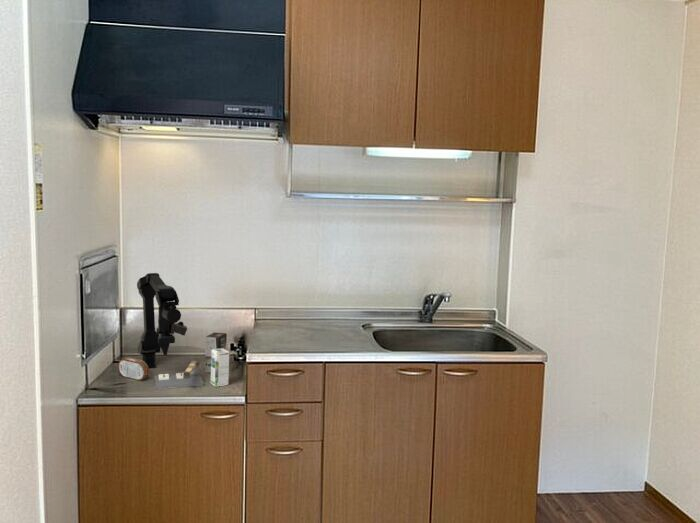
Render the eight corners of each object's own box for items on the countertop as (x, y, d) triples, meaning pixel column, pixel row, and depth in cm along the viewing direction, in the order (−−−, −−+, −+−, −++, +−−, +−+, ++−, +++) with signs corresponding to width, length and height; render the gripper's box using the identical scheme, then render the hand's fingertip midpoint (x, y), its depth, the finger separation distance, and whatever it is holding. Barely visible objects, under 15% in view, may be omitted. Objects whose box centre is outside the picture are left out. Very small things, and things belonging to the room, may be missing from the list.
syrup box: (210, 383, 231) (210, 349, 230) (223, 381, 235) (223, 347, 233) (215, 387, 227) (216, 352, 225) (229, 385, 230) (229, 351, 229)
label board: (154, 378, 234) (154, 366, 234) (199, 375, 241) (200, 363, 240) (155, 389, 221) (155, 376, 221) (203, 385, 228) (203, 373, 227)
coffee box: (218, 373, 245) (218, 337, 243) (204, 372, 246) (205, 336, 244) (226, 367, 254) (227, 333, 252) (213, 366, 255) (214, 331, 253)
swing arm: (191, 363, 239) (191, 358, 239) (199, 363, 239) (199, 358, 239) (181, 378, 219) (181, 373, 219) (190, 378, 220) (191, 373, 219)
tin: (149, 380, 232) (149, 360, 231) (143, 382, 229) (144, 362, 228) (123, 374, 238) (122, 355, 237) (117, 376, 235) (117, 356, 234)
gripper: (188, 322, 224) (187, 360, 226) (183, 312, 241) (183, 347, 243) (159, 323, 220) (158, 361, 222) (156, 313, 237) (156, 349, 239)
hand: (165, 354), depth 231 cm, fingers closed
